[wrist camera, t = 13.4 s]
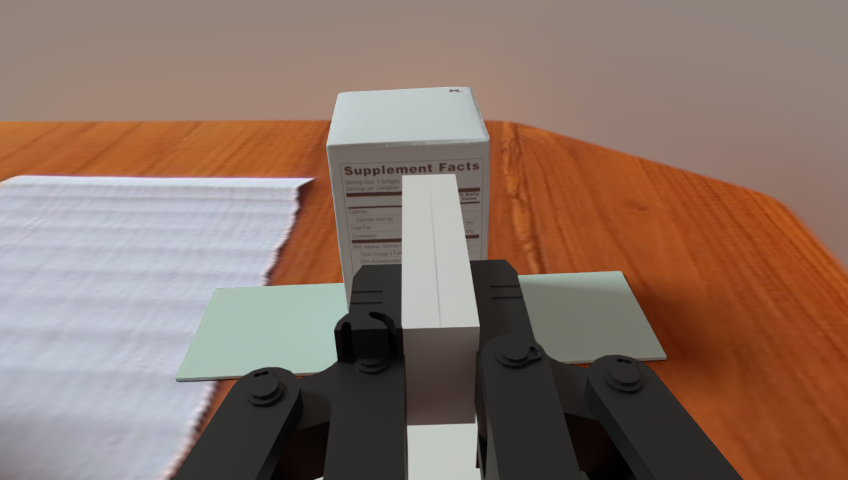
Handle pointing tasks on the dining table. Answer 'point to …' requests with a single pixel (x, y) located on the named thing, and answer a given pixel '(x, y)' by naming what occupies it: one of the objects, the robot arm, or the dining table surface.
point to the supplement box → (403, 167)
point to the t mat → (326, 304)
